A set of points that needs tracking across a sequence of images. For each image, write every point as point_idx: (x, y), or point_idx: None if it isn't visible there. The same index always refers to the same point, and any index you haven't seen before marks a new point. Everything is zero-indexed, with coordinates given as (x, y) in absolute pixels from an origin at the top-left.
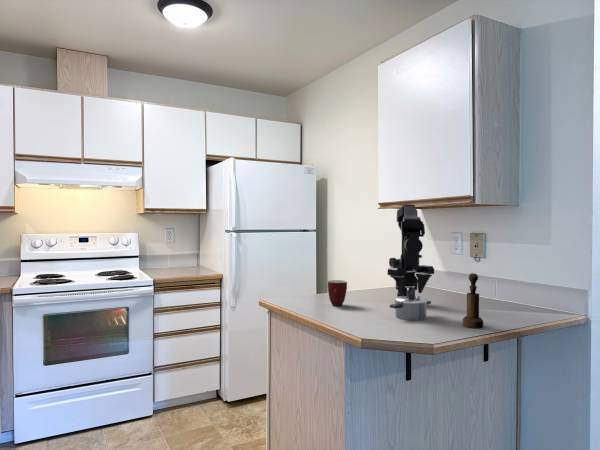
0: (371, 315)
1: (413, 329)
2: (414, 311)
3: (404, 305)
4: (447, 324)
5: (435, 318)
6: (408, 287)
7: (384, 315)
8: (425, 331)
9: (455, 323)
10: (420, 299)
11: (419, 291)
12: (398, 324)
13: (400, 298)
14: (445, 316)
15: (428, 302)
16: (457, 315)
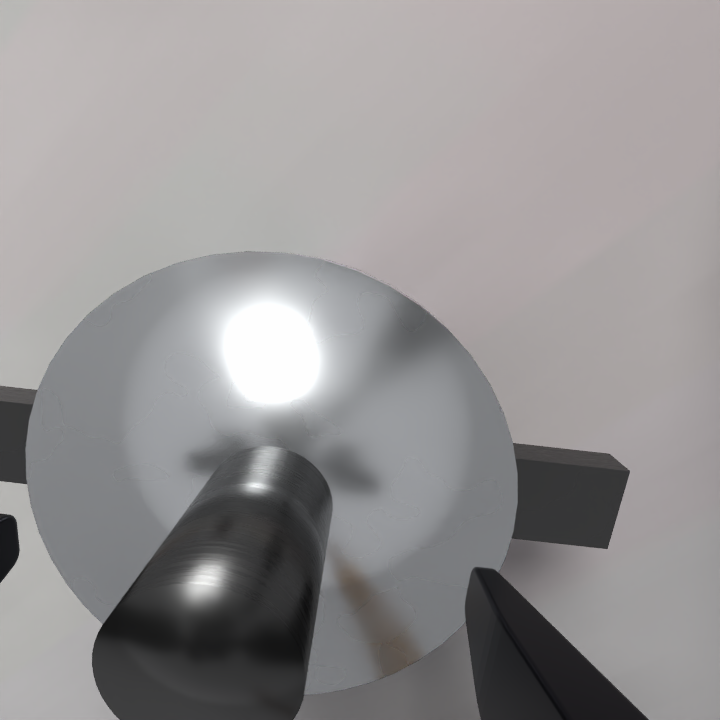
0: (11, 115)
1: (29, 644)
2: None
3: None
4: (352, 693)
5: None
6: (136, 643)
7: (139, 202)
8: (66, 708)
9: (428, 708)
10: (348, 607)
11: (473, 609)
12: (24, 506)
13: (142, 396)
14: (592, 556)
15: (556, 535)
16: (712, 591)
